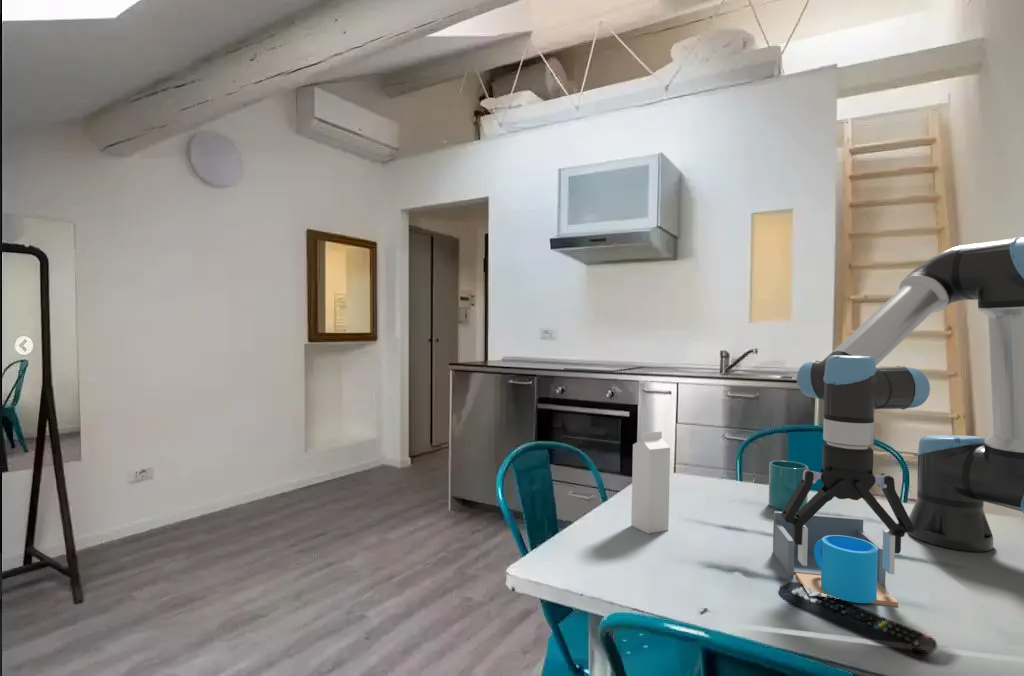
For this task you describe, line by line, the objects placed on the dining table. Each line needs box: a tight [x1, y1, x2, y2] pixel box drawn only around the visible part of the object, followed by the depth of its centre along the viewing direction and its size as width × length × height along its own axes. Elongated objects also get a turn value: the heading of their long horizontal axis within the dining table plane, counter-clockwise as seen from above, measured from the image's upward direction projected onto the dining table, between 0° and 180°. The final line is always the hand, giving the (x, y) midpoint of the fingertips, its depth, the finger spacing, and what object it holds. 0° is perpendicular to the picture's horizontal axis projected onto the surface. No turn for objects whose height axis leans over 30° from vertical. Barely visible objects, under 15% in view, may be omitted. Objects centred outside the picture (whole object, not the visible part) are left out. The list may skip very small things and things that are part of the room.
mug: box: [814, 535, 878, 604], centre depth 96 cm, size 12×8×8 cm
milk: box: [630, 431, 671, 534], centre depth 127 cm, size 6×6×22 cm
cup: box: [768, 460, 809, 512], centre depth 145 cm, size 9×12×11 cm
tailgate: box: [795, 573, 899, 607], centre depth 96 cm, size 13×1×8 cm
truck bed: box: [772, 510, 887, 586], centre depth 106 cm, size 16×11×9 cm
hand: (844, 566), depth 96 cm, fingers open, 13 cm apart
